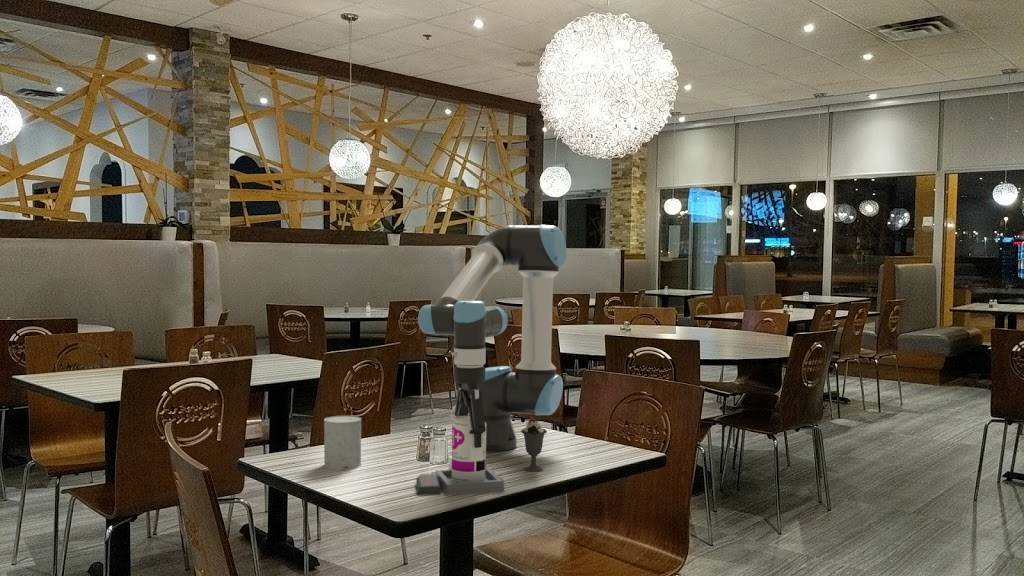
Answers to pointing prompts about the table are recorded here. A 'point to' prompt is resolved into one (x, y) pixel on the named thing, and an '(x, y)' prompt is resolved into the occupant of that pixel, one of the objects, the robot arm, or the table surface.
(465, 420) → the supplement can
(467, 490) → the charging dock
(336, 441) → the gray cylinder
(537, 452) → the sundae
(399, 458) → the table surface
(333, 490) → the table surface
